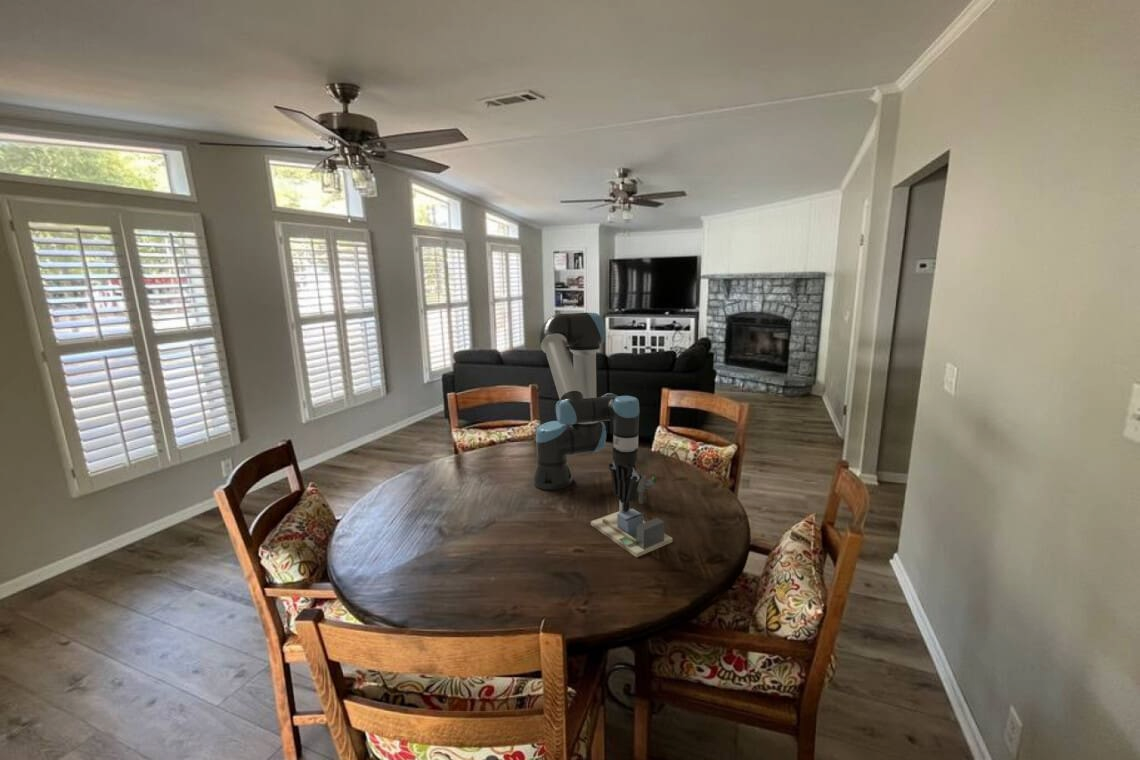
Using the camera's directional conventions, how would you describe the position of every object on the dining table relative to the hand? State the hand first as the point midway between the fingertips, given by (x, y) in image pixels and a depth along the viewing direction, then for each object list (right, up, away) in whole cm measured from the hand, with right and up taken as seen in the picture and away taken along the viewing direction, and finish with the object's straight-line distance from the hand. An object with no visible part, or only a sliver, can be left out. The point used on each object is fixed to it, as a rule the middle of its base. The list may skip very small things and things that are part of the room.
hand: (623, 518), depth 146 cm
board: (+2, -4, -2) cm, 5 cm away
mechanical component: (+8, 0, +18) cm, 19 cm away
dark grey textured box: (+7, -4, -9) cm, 12 cm away
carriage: (+2, -3, -2) cm, 4 cm away
